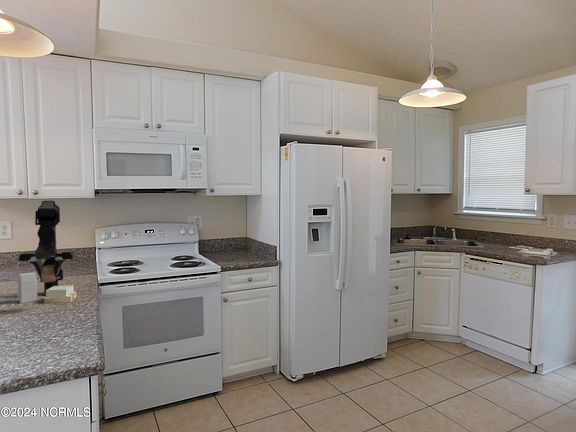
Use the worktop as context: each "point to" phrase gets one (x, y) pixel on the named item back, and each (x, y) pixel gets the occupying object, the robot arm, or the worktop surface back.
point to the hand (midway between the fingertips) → (48, 277)
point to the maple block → (60, 299)
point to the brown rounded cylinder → (48, 273)
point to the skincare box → (27, 287)
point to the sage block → (59, 291)
